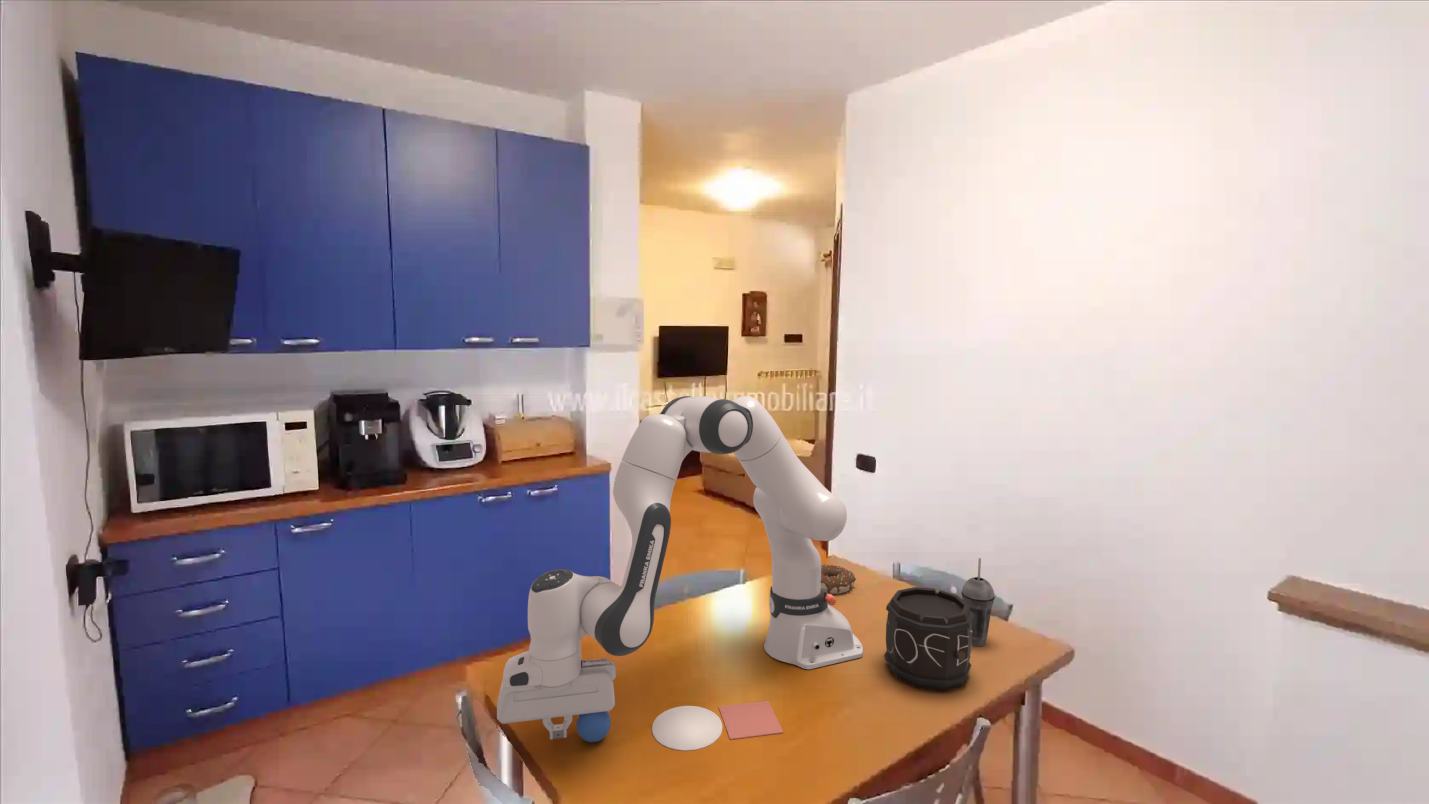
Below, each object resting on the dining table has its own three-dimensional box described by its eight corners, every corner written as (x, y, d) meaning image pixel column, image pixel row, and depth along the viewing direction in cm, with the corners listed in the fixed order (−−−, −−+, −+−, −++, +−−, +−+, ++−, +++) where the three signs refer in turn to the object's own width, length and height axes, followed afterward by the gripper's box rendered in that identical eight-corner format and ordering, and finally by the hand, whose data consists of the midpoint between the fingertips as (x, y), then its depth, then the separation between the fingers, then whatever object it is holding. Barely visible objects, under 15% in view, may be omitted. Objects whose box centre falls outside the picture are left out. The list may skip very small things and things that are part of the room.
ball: (610, 726, 119) (609, 696, 118) (611, 747, 113) (611, 715, 112) (577, 730, 117) (576, 700, 117) (576, 751, 112) (576, 719, 111)
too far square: (768, 701, 127) (768, 700, 127) (783, 733, 117) (783, 732, 117) (718, 707, 125) (718, 706, 125) (730, 739, 115) (730, 738, 115)
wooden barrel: (924, 704, 126) (927, 628, 124) (868, 660, 143) (870, 593, 141) (992, 684, 133) (996, 612, 132) (931, 644, 150) (934, 580, 148)
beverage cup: (958, 645, 149) (962, 563, 147) (959, 631, 156) (963, 552, 154) (992, 651, 147) (997, 567, 144) (991, 637, 153) (996, 557, 151)
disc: (714, 703, 126) (714, 702, 126) (729, 745, 113) (729, 744, 113) (648, 710, 124) (648, 710, 124) (656, 755, 111) (656, 753, 111)
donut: (845, 601, 174) (846, 583, 173) (798, 590, 181) (799, 573, 180) (861, 583, 186) (862, 566, 185) (817, 573, 193) (817, 557, 192)
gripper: (614, 648, 117) (616, 718, 119) (498, 660, 113) (501, 732, 115) (616, 666, 111) (618, 740, 113) (493, 679, 107) (497, 755, 109)
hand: (558, 736), depth 114 cm, fingers closed
